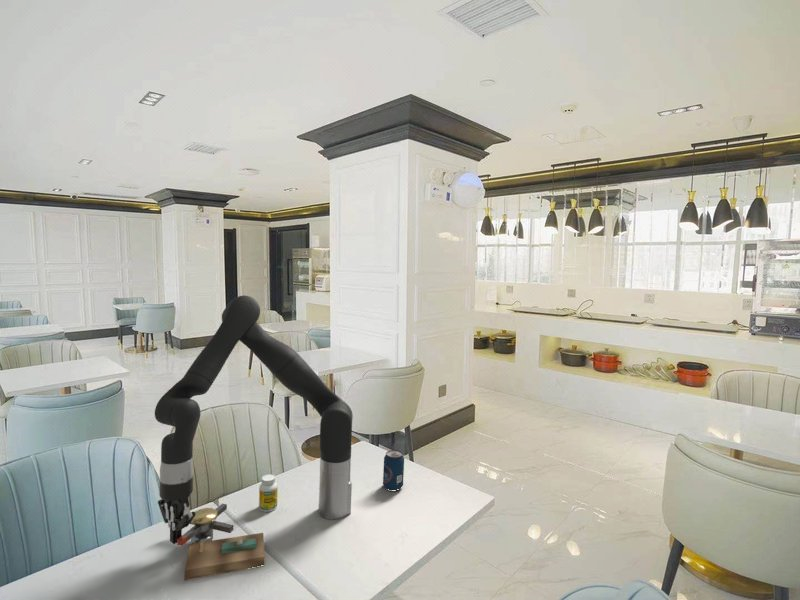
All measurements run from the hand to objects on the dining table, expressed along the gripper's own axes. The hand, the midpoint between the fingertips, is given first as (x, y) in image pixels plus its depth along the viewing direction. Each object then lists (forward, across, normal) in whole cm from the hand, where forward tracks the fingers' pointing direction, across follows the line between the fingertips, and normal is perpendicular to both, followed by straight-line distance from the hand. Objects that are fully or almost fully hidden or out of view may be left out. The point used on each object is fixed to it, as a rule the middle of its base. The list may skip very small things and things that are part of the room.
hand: (175, 541), depth 111 cm
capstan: (+4, +1, +8) cm, 8 cm away
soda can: (+3, +26, +62) cm, 67 cm away
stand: (+4, +12, +6) cm, 14 cm away
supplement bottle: (+4, +2, +28) cm, 29 cm away
